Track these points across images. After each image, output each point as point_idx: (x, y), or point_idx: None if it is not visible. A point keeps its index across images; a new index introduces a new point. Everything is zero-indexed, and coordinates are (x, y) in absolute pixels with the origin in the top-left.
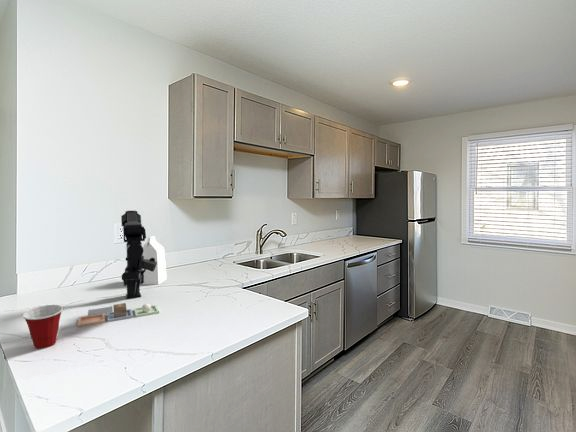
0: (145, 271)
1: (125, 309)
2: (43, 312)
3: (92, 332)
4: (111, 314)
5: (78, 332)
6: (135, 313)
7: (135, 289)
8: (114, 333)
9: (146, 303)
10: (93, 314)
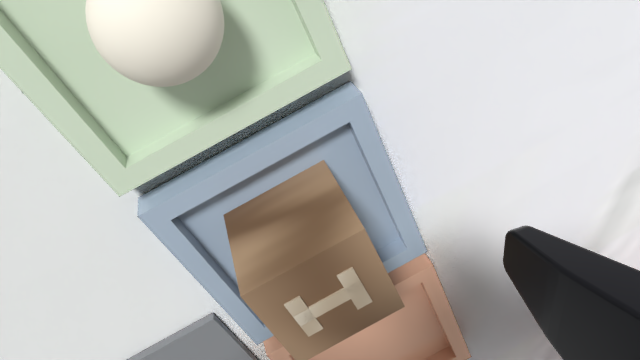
0: None
1: (352, 211)
2: None
3: (551, 232)
4: None
5: (521, 300)
6: (294, 99)
7: (607, 279)
8: (629, 83)
9: (145, 40)
10: None
